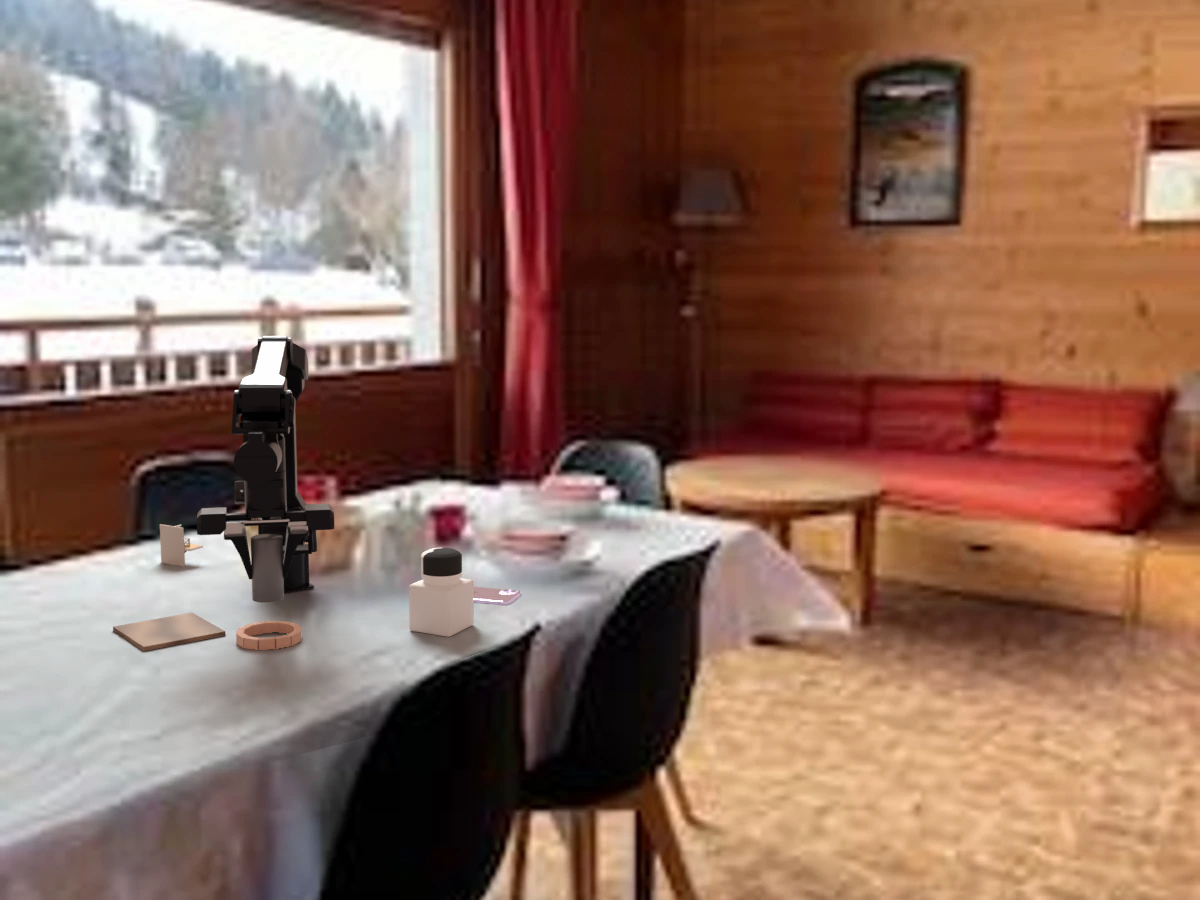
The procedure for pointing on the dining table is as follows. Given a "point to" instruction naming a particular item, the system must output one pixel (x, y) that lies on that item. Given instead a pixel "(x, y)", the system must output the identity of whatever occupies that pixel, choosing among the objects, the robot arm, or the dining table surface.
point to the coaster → (168, 631)
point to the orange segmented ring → (271, 642)
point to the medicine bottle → (441, 595)
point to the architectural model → (174, 545)
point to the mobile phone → (495, 595)
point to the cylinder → (267, 568)
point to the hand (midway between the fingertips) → (267, 577)
